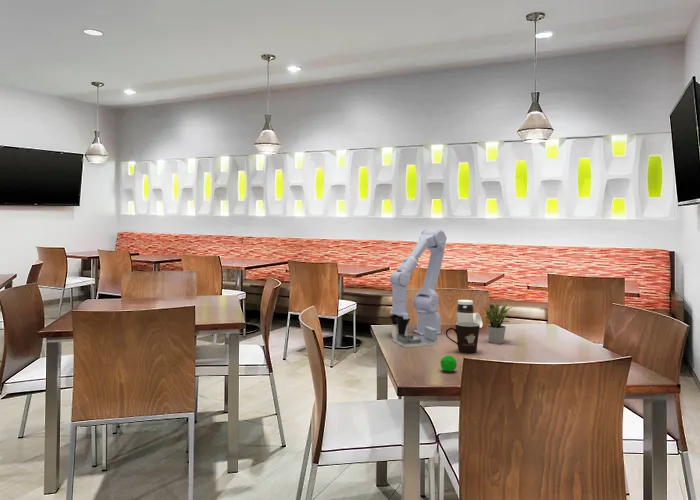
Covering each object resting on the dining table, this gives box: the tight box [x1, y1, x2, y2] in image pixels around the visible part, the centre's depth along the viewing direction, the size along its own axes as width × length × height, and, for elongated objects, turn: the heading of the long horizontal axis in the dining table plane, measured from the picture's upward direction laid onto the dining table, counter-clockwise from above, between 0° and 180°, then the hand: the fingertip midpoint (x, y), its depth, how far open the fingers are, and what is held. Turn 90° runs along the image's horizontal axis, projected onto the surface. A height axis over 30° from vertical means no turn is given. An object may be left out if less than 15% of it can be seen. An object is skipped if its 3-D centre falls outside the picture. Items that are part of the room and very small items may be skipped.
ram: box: [423, 326, 438, 341], centre depth 204 cm, size 2×7×4 cm, turn 17°
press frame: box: [392, 334, 439, 348], centre depth 202 cm, size 14×12×3 cm
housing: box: [391, 324, 408, 338], centre depth 212 cm, size 5×4×5 cm
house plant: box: [480, 302, 518, 345], centre depth 202 cm, size 14×14×16 cm
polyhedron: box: [439, 355, 457, 373], centre depth 162 cm, size 5×5×5 cm
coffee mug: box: [445, 322, 481, 355], centre depth 188 cm, size 12×9×10 cm
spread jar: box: [456, 299, 483, 329], centre depth 234 cm, size 12×11×12 cm
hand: (399, 333), depth 212 cm, fingers closed on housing, 4 cm apart
